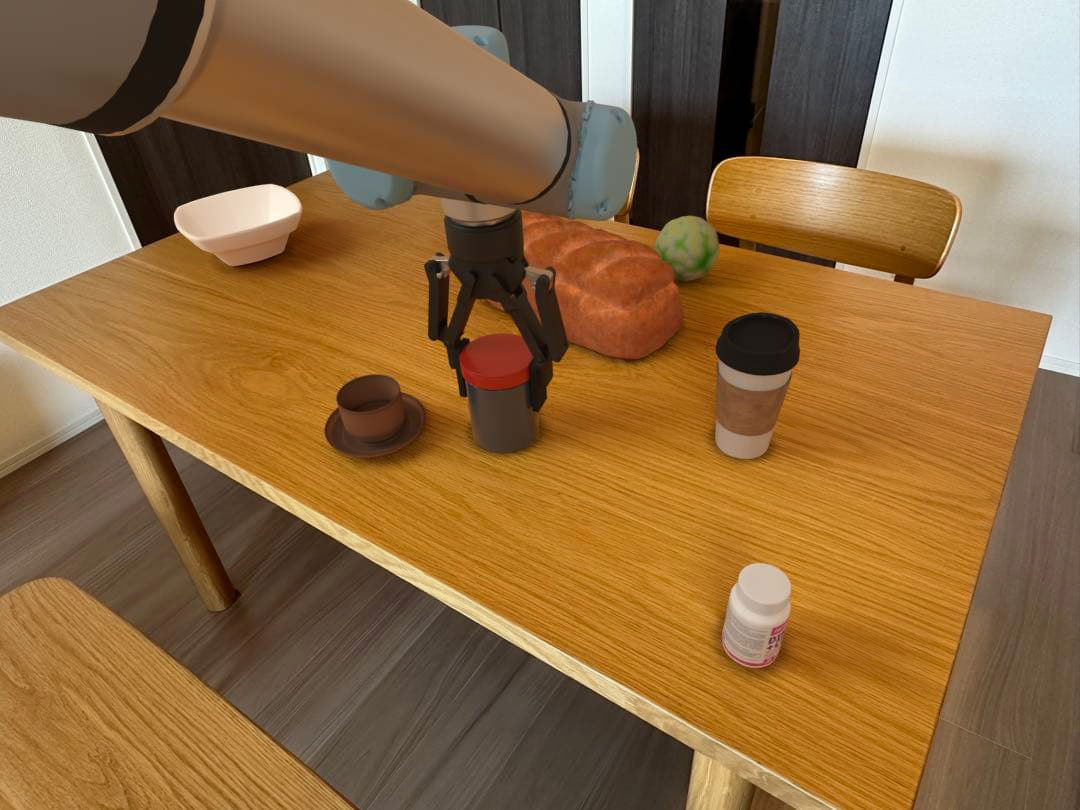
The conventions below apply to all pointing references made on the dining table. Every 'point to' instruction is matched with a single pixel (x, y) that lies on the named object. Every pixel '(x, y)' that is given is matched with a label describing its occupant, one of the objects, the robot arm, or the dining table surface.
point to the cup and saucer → (373, 417)
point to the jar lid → (496, 361)
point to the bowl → (241, 223)
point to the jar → (502, 417)
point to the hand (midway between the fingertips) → (503, 397)
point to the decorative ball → (688, 247)
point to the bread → (604, 286)
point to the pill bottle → (757, 615)
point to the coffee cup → (752, 380)
